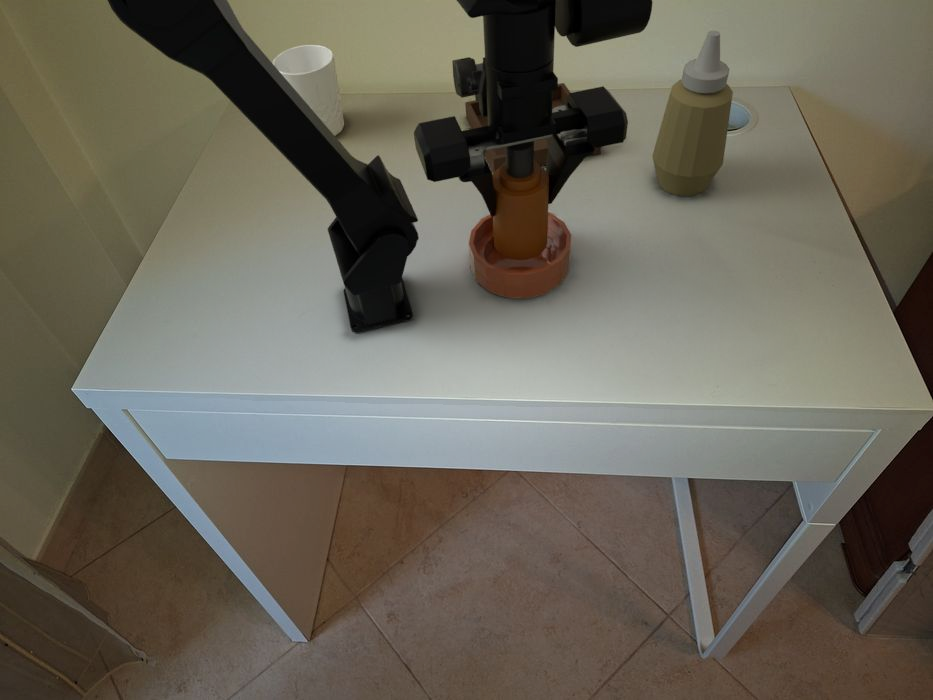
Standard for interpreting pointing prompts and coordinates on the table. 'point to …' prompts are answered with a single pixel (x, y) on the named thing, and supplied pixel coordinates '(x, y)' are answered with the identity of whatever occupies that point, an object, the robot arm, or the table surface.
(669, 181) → the squeeze bottle
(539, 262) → the bowl
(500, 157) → the tray
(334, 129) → the white cup
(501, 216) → the bottle
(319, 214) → the table surface
